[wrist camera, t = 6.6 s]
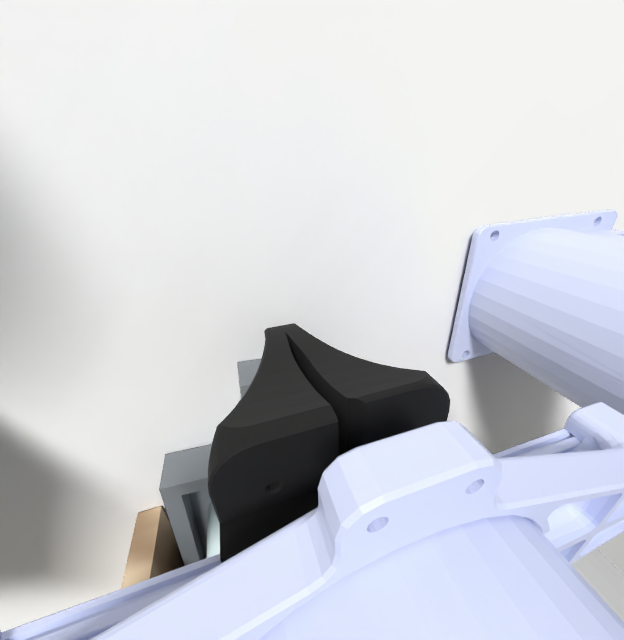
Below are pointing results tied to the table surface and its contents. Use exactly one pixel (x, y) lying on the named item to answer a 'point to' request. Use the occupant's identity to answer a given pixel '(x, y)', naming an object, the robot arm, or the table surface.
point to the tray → (195, 491)
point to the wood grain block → (151, 548)
